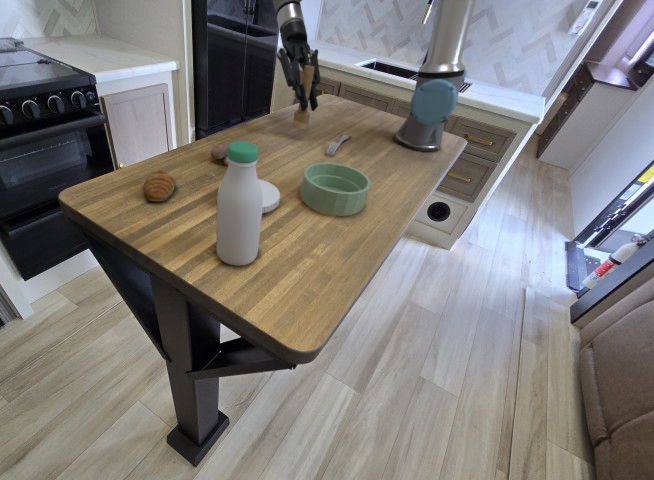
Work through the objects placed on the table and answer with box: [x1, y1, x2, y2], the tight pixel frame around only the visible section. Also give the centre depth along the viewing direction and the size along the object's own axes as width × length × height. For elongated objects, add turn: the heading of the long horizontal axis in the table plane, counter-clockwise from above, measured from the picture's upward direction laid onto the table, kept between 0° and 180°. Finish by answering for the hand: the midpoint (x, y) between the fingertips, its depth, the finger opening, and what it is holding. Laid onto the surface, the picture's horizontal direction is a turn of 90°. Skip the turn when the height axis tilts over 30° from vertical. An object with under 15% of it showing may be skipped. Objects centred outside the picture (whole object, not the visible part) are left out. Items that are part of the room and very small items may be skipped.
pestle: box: [292, 65, 315, 129], centre depth 100 cm, size 5×5×16 cm
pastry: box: [143, 169, 177, 202], centre depth 74 cm, size 9×7×4 cm
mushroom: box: [210, 144, 229, 166], centre depth 89 cm, size 8×6×8 cm
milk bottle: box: [216, 140, 263, 266], centre depth 55 cm, size 8×8×20 cm
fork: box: [325, 134, 351, 157], centre depth 108 cm, size 3×21×3 cm, turn 154°
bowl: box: [299, 162, 372, 217], centre depth 79 cm, size 16×16×6 cm
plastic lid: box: [217, 178, 281, 214], centre depth 76 cm, size 14×14×2 cm
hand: (310, 108), depth 99 cm, fingers closed on pestle, 3 cm apart
